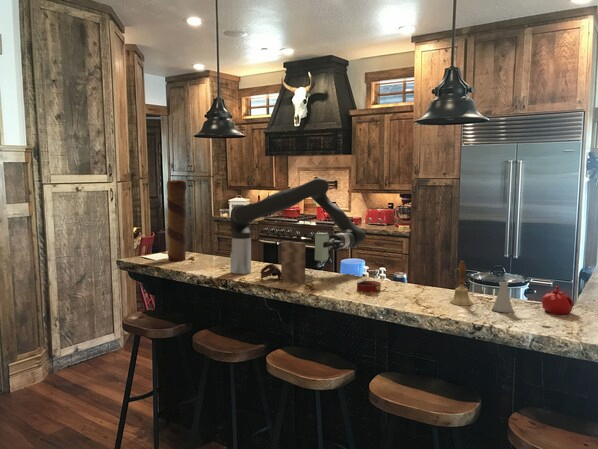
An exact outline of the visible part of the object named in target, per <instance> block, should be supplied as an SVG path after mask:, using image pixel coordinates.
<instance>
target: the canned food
mask: <svg viewBox="0 0 598 449" xmlns="http://www.w3.org/2000/svg"><path fill="white" fill-rule="evenodd" d="M378 273H379V271H375V272H373V273H372V274H371V275H370V276H368V277H366V278H364V279H362V280H359V281H357V282H356V290H357V292H361V291H362V293H370V294H371V293H379V292H380V291H381V289H382V288H381V286H382V285H381V282H379V281H376V280H368V279H370V278H372V277H373V276H375V275H377V274H378Z"/></svg>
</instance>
